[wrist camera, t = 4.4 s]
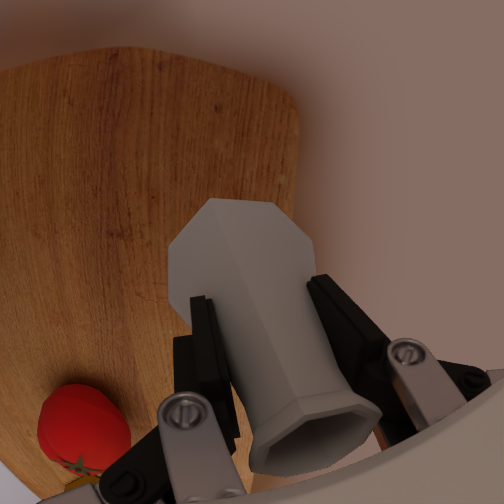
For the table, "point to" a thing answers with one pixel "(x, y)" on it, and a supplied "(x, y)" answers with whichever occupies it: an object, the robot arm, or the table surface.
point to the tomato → (82, 430)
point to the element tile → (82, 482)
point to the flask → (270, 334)
